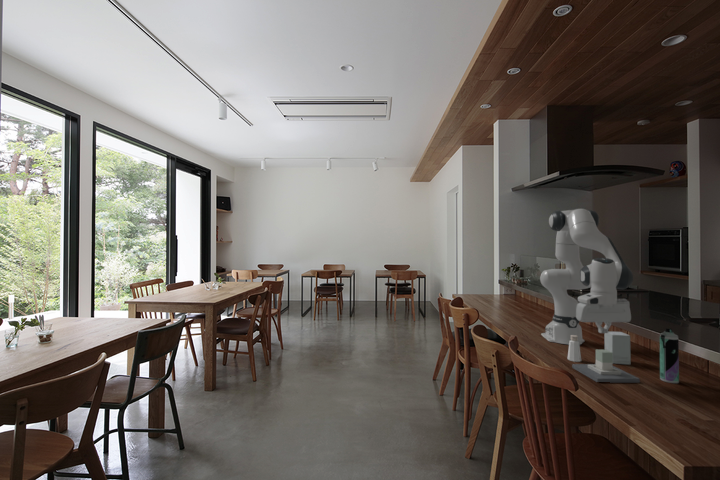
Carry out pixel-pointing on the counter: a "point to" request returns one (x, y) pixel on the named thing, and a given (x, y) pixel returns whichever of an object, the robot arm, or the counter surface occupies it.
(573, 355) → the pepper shaker
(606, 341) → the supplement box
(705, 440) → the counter surface
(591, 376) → the square peg socket board
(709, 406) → the counter surface
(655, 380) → the counter surface
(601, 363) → the block stack
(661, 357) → the spray can
